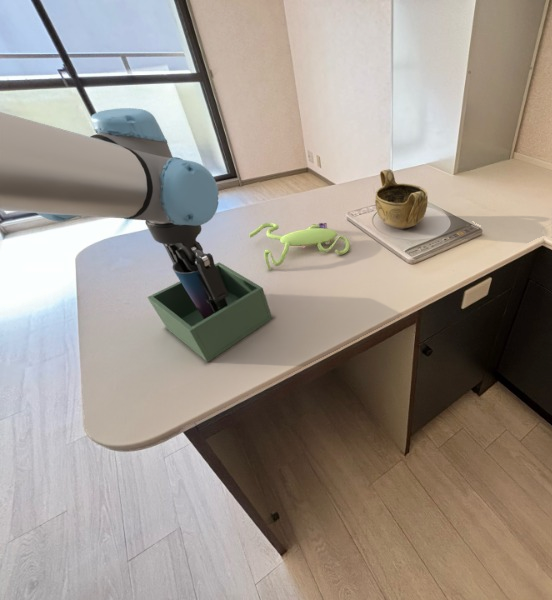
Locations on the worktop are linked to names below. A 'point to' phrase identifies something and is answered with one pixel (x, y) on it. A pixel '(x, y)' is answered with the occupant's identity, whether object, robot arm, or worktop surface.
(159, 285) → the worktop surface
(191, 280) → the cup
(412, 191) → the ceramic bowl
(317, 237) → the figurine
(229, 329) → the bin
